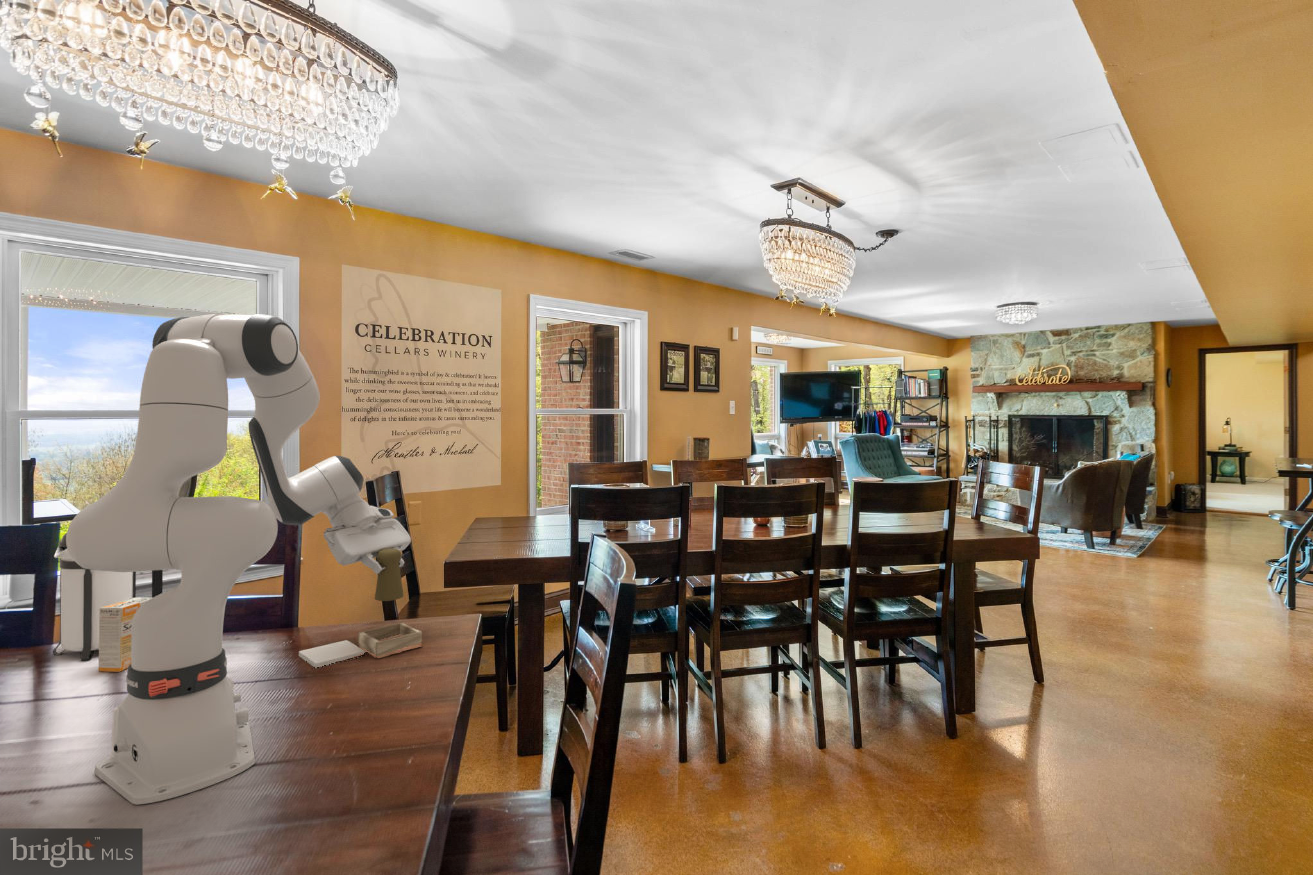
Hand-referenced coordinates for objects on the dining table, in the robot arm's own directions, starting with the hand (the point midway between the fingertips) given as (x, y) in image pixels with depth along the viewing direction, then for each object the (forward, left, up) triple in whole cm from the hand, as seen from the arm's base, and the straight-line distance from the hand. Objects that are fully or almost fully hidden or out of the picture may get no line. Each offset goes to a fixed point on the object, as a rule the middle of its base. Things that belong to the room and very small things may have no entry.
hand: (391, 568), depth 137 cm
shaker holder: (+1, 0, -18) cm, 18 cm away
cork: (+1, 0, -7) cm, 7 cm away
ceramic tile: (+5, +11, -18) cm, 22 cm away
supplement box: (+30, +42, -18) cm, 54 cm away
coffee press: (+46, +44, -18) cm, 66 cm away
